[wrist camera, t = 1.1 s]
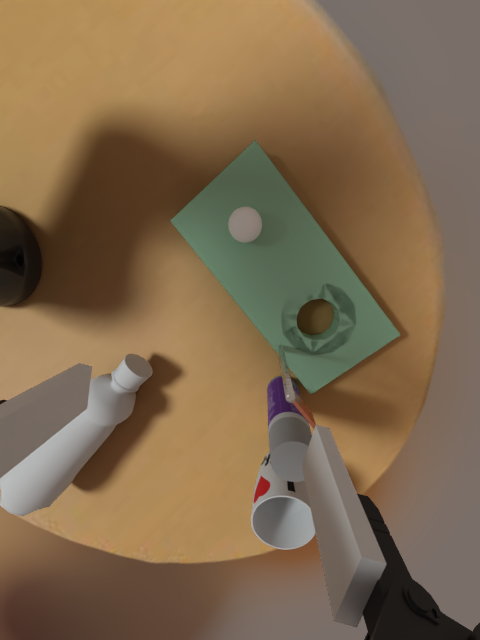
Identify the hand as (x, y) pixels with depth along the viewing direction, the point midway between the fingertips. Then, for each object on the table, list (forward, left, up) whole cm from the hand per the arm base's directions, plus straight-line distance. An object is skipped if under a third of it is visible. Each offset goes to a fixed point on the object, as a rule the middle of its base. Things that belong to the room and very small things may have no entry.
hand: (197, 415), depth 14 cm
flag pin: (+7, +3, -21) cm, 22 cm away
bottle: (-2, -29, -24) cm, 38 cm away
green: (-2, +9, -24) cm, 26 cm away
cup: (+22, -9, -24) cm, 34 cm away
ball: (-10, +9, -19) cm, 23 cm away
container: (+12, -1, -24) cm, 27 cm away
